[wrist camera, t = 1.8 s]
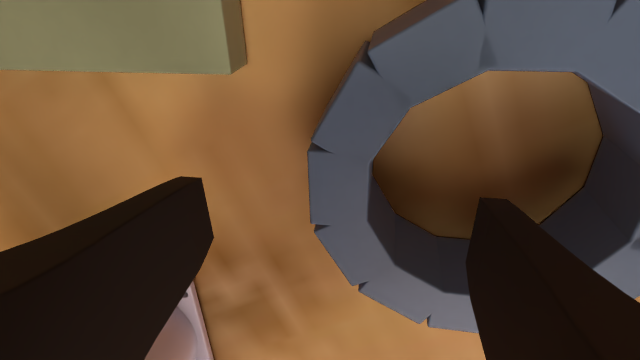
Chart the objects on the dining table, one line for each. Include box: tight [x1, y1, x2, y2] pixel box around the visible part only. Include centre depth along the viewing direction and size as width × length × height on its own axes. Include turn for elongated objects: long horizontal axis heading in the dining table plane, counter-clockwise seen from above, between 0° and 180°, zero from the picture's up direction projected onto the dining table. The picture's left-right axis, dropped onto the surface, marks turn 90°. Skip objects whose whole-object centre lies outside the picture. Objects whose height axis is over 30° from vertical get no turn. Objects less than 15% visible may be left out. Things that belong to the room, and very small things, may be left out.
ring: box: [307, 0, 640, 333], centre depth 12 cm, size 11×11×3 cm
